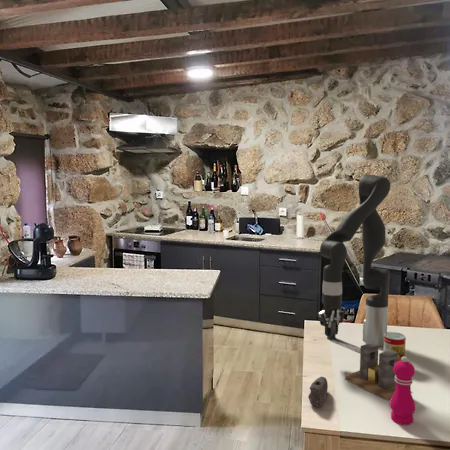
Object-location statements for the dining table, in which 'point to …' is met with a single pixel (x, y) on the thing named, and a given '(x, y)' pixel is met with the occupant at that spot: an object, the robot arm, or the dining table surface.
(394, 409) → the pepper mill
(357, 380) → the shaft stand
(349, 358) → the dining table surface
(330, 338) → the shaft
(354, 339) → the dining table surface
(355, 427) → the dining table surface
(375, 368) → the spacer
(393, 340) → the canned food
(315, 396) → the perforated stone tool
